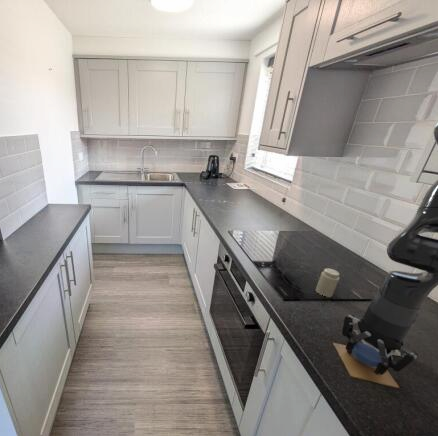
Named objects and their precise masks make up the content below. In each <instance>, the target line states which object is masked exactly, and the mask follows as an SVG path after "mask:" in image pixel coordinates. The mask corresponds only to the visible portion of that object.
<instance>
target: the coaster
mask: <svg viewBox="0 0 438 436" xmlns="http://www.w3.org/2000/svg"><path fill="white" fill-rule="evenodd" d="M332 345H333V348H334V349H335V351H336V352H337V354H338V356H339V358H340V360H341V362H342V363H343V365H344V367H345V369H346V370H347V372H348V375H349V377H351V378H355V379H358V380H363V381H367V382H371V383H375V384H379V385H383V386H388V387H392V388H395V389H400V386H399V384H398V383H397V381H395V379H394V378H393V376H392V375H391V373H390V372H389V371H388V370H387V371H386V372H385V373H384V374H383V375H381V374H378V375H377V374H376V373H374V372H375V370H376V368H377V367H371V366H369V365H366V364H364V363H363V362H361V361H360V360H359V359H357V358H356V357H355V355H354V354H353V352H352V353H351V354H349V353H347V350H346V345H347V344H342V343H338V342H337V343H336V342H332Z"/></svg>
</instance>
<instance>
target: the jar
mask: <svg viewBox="0 0 438 436" xmlns="http://www.w3.org/2000/svg"><path fill="white" fill-rule="evenodd" d="M339 281H340V272H339V271H338V270H335V269H334V268H329V267H328V268H327V267H326V268H324V269H323V271H322V272H321V273H320V275H319V278H318V281H317V284H316V287H315V288H314V289H315V292H316V293H317V294H318V293H319V294H318V295H320V296H322V295H323V296H322V297H324V296H326V297H325V298H332V297H333V296H334V293H335V290H336V289H337V286H338V283H339Z"/></svg>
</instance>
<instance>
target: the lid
mask: <svg viewBox="0 0 438 436" xmlns="http://www.w3.org/2000/svg"><path fill="white" fill-rule="evenodd" d="M352 352H353V354H354V355H355V357H356V358H357V359H359V360H360V361H361V362H363V363H364V364H366V365H369V366H371V367H377V366H378V365H379V363H380V362H381V356H380V354H379V352H378V351H377V350H375V349H374V348H372V347H371V346H369V345H366V344H364V343H363V342H358V343H357V344H355V345H354V347H353V349H352Z"/></svg>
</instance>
